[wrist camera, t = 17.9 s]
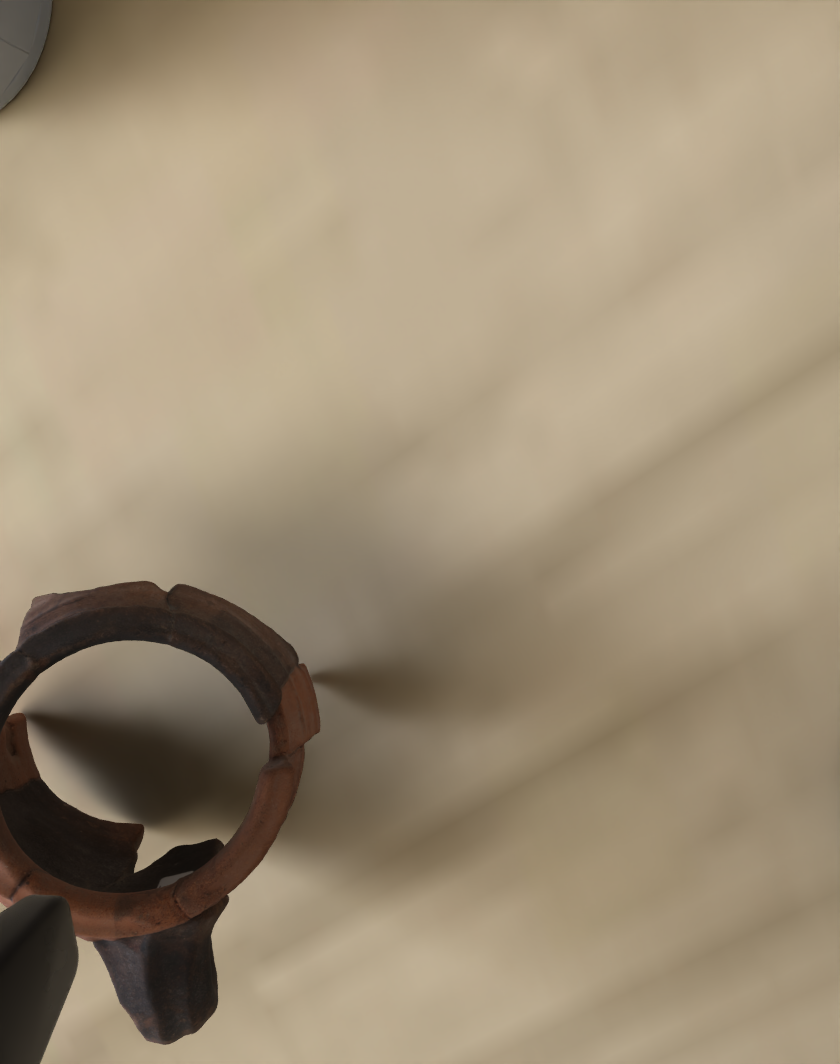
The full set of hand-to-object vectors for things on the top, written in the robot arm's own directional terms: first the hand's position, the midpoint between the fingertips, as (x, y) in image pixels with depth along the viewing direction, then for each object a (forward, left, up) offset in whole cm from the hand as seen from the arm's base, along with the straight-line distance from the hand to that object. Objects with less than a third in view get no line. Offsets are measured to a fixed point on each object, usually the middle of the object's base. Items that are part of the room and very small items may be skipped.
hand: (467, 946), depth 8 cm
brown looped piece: (+9, +6, -13) cm, 17 cm away
